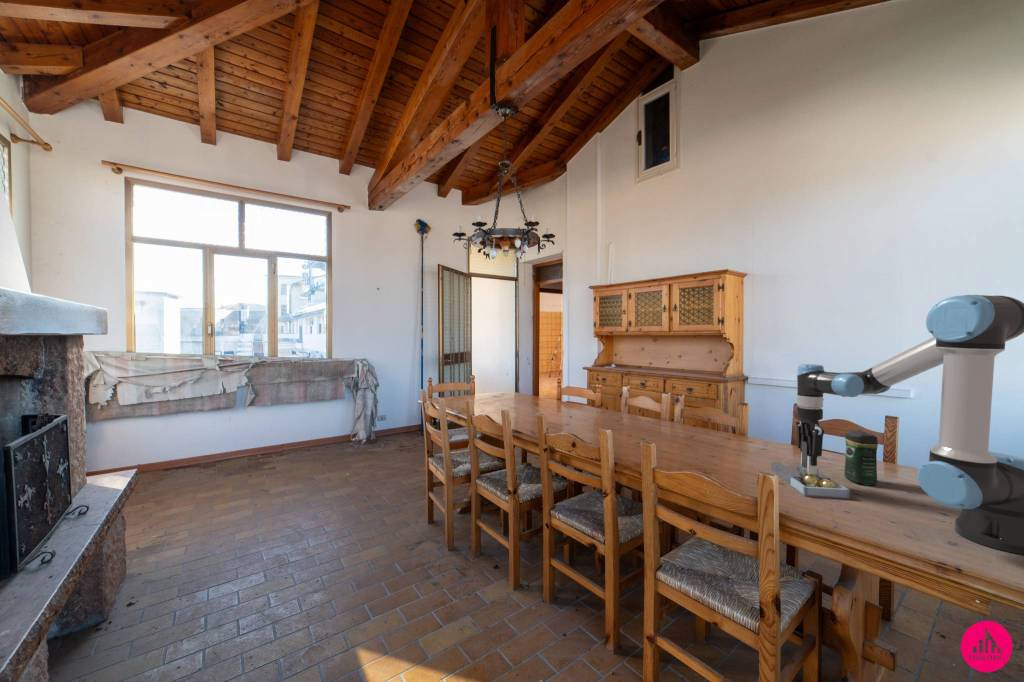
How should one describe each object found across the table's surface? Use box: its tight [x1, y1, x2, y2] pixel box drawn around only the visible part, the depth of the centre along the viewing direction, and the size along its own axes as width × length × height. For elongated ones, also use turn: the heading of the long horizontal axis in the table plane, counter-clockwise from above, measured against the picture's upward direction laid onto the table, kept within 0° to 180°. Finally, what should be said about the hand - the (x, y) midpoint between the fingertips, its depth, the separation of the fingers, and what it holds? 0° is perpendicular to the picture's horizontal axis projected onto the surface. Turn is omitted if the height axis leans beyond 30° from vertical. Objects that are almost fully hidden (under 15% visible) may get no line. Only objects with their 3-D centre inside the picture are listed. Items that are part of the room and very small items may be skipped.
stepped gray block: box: [800, 441, 819, 478], centre depth 145 cm, size 3×4×13 cm
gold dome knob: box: [819, 479, 838, 488], centre depth 138 cm, size 4×4×3 cm
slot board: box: [771, 461, 832, 485], centre depth 151 cm, size 16×12×4 cm
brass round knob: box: [802, 475, 819, 487], centre depth 142 cm, size 4×4×3 cm
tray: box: [790, 478, 851, 500], centre depth 139 cm, size 9×14×3 cm, turn 81°
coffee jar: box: [844, 429, 879, 486], centre depth 149 cm, size 10×8×19 cm
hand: (808, 471), depth 145 cm, fingers closed on stepped gray block, 3 cm apart
